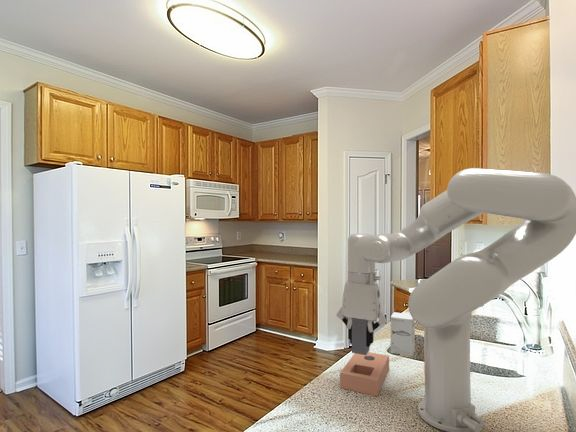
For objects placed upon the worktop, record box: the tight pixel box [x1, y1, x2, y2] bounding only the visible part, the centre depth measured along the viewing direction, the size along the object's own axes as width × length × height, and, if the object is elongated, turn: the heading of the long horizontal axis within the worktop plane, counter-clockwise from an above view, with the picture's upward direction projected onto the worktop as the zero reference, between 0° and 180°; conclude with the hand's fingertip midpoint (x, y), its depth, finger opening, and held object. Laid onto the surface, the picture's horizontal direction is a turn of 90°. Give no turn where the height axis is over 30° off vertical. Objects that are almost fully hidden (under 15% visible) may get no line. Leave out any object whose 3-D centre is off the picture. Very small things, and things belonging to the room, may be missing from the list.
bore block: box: [339, 351, 390, 397], centre depth 95 cm, size 18×10×4 cm, turn 154°
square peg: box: [351, 318, 370, 355], centre depth 91 cm, size 4×4×10 cm
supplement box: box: [390, 311, 416, 358], centre depth 114 cm, size 7×7×13 cm
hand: (360, 343), depth 91 cm, fingers closed on square peg, 4 cm apart
